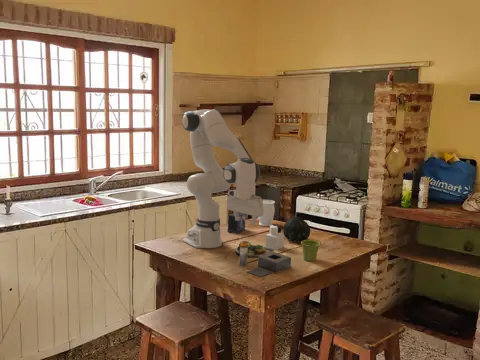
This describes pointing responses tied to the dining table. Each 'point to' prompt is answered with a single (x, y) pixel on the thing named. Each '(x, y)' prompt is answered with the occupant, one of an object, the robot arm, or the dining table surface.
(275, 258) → the grey square block
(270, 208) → the jar
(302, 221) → the squash
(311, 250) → the plant pot
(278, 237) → the medicine bottle
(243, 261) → the cylindrical container
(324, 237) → the dining table surface
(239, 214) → the small box
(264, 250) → the salad plate
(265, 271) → the mat
